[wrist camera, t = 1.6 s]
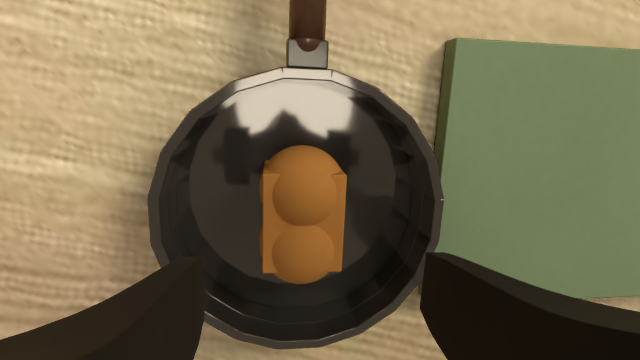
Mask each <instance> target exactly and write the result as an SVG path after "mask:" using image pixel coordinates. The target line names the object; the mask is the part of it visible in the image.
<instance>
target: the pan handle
mask: <svg viewBox="0 0 640 360" xmlns="http://www.w3.org/2000/svg"><path fill="white" fill-rule="evenodd" d="M326 2H327V0H290V13H289V38H288V39H287V43H286V67H295V68H315V69H327V67H328V44H329V43H328V41H327V40H325V27H326Z"/></svg>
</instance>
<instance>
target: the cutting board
mask: <svg viewBox="0 0 640 360" xmlns="http://www.w3.org/2000/svg"><path fill="white" fill-rule="evenodd" d="M434 155H435V157H436V161H437V166H438V171H439V176H440V181H441V186H442V191H443V196H444V205H443V213H442V222H441V230H440V238H439V243H438V245H437V247H436V249H435V252H445V253H449V254H453V255H456V256H459V257H461V258H464V259H467V260H469V261H472V262H474V263H477V264H479V265H482V266H484V267H487V268H489V269H492V270H494V271H497V272H499V273H502V274H504V275H507V276H509V277H512V278H515V279H517V280H520V281H523V282H526V283H528V284H531V285H534V286H537V287H540V288H543V289H546V290H549V291H553V292H556V293H560V294H563V295H567V296H570V297H574V298H599V297H627V296H640V50H639V49H623V48H608V47H592V46H577V45H561V44H546V43H530V42H515V41H499V40H483V39H468V38H455V39H452V40H449V41H447V42H446V49H445V58H444V67H443V76H442V86H441V95H440V104H439V113H438V122H437V131H436V141H435V150H434ZM422 283H423V278H422V280H421V281H420V287H419V294H420V296H421V292H422Z"/></svg>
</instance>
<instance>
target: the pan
mask: <svg viewBox="0 0 640 360" xmlns="http://www.w3.org/2000/svg"><path fill="white" fill-rule="evenodd" d="M297 145H307V146H313V147H316V148H319V149H321V150H323V151H325V152H326V153H327V154H329V155H330V156H331V157H332V158H333V159H334V160H335V161H336V162H337V164H338V165H339V167H340V169H341V170H342V171H343V172H344V173H345V174H346V175H347V184H346V202H345V219H344V237H343V255H342V270H341V271H340V272H329V273H328V274H327V275H325V276H324V277H322V278H321V279H319V280H317V281H315V282H312V283H307V284H294V283H289V282H286V281H284V280H281V279H280V278H278V277H277V276H275V275H274V274H273V273H263V272H262V256H261V253H260V247H259V237H260V232H261V229H262V202H261V198H260V192H259V184H260V178H261V175H262V172H263V169H264V162H265V161H266V160H270V159H271V158H272V157H273V156H274V155H276V154H277V153H278V152H280V151H281V150H284V149H286V148H288V147H292V146H297ZM161 151H162V152H160V156H159V159H158V163H157V166H156V170H155V173H154V177H153V180H152V183H151V187H150V190H149V194H148V213H149V227H150V242H151V246H152V248H153V251H154V253H155V255H156V258H157V260H158V262H159V264H160V267H161V268H162V267H164V266H166V265H167V264H169V263H170V262H172V261H174V260H176V259H177V258H180V257H185V256H202V262H203V290H204V320H203V321H204V322H206V323H208V324H209V325H211V326H213V327H215V328H216V329H218V330H220V331H222V332H223V333H225V334H227V335H229V336H230V337H232V338H234V339H237V340H239V341H244V342H248V343H252V344H257V345H261V346H265V347H270V348H274V349H296V348H317V347H323V346H326V345H329V344H332V343H335V342H338V341H341V340H344V339H347V338H350V337H353V336H356V335H359V334H361V333H363V332H364V331H366V330H367V329H369V328H370V327H372V326H373V325H375V324H376V323H378V322H379V321H381V320H382V319H384V318H385V317H387V316H388V315H390V314H391V313H393V312H394V311H395V310H396V309H397V308H398V307H399V306H400V305H401V303H402V302H403V301H404V300H405V299H406V297H407V296H408V295H409V294H410V293H411V292H412V290H413V289H414V288H415V287H416V286H417V285H418V283H419V282H420V281H421V280H422V278H423V274H424V265H425V256H426V252H435V249H436V247H437V245H438V243H439V238H440V230H441V222H442V213H443V205H444V196H443V191H442V186H441V181H440V176H439V171H438V166H437V161H436V157H435V155H434V153H433V151H432V149H431V148H430V146H429V144H428V143H427V141H426V139H425V137H424V136H423V134H422V132H421V130H420V129H419V127H418V125H417V124H416V122H415V120H414V119H413V118H412V116H410V115H409V114H408V113H407V112H406V111H405V110H403V109H402V108H401V107H400V106H399V105H398V104H396V103H395V102H394V101H393V100H392V99H391V98H390V97H388V96H387V95H386V94H385V93H384V92H383V91H381V90H380V89H379V88H377V87H375V86H373V85H370V84H368V83H365V82H363V81H360V80H358V79H355V78H353V77H350V76H348V75H345V74H343V73H340V72H338V71H335V70H332V69H315V68H295V67H280V68H276V69H273V70H269V71H266V72H262V73H259V74H255V75H252V76H248V77H245V78H241V79H238V80H234V81H233V82H230V83H229V84H227V85H226V86H224V87H223V88H222V89H220V90H219V91H217V92H216V93H214V94H213V95H212V96H210V97H209V98H207V99H206V100H204V101H203V102H201V103H200V104H199V105H197V106H196V107H194V108H193V109H191V111H189V113H188V114H187V115H186V117H185V118H184V120H183V121H182V122H181V124H180V125H179V127H178V128H177V129H176V131H175V132H174V133H173V135H172V136H171V138H170V139H169V140H168V142H167V143H166V145H165V146H164V147H163V149H162V150H161Z"/></svg>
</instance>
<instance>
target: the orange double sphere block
mask: <svg viewBox="0 0 640 360" xmlns="http://www.w3.org/2000/svg"><path fill="white" fill-rule="evenodd" d="M346 184H347V175H346V174H345V173H344V172H343V171H342V170H341V169H340V167H339V165H338V164H337V162H336V161H335V160H334V159H333V158H332V157H331V156H330V155H329V154H327V153H326V152H325V151H323V150H321V149H319V148H316V147H313V146H307V145H297V146H292V147H288V148H286V149H284V150H281V151H280V152H278V153H277V154H276V155H274V156H273V157H272V158H271V159H270V160H266V161H265V162H264V169H263V172H262V175H261V178H260V184H259V192H260V198H261V202H262V229H261V232H260V237H259V247H260V253H261V256H262V272H263V273H273V274H274V275H275V276H277V277H278V278H280V279H281V280H284V281H286V282H289V283H294V284H307V283H312V282H315V281H317V280H319V279H321V278H322V277H324V276H325V275H327V274H328V273H329V272H340V271H341V270H342V255H343V237H344V219H345V202H346Z"/></svg>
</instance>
